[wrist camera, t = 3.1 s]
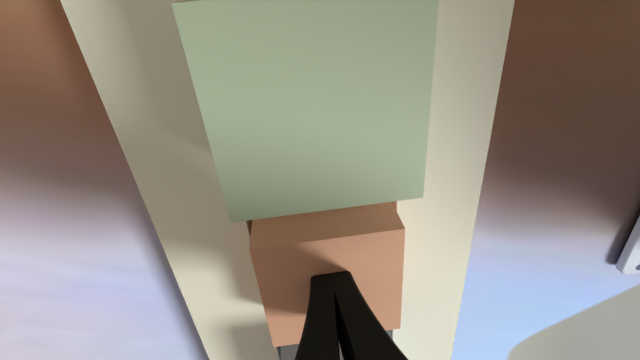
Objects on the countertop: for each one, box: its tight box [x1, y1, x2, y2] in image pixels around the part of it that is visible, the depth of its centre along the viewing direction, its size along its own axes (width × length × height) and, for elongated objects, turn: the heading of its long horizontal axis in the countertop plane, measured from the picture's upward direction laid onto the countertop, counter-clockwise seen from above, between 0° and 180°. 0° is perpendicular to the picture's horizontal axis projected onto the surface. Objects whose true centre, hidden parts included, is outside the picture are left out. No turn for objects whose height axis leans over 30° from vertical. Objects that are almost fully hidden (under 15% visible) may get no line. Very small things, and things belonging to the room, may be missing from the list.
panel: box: [60, 0, 515, 360], centre depth 15 cm, size 12×23×2 cm, turn 5°
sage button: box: [171, 0, 439, 223], centre depth 9 cm, size 5×5×3 cm
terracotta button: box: [249, 202, 405, 347], centre depth 14 cm, size 5×5×3 cm
